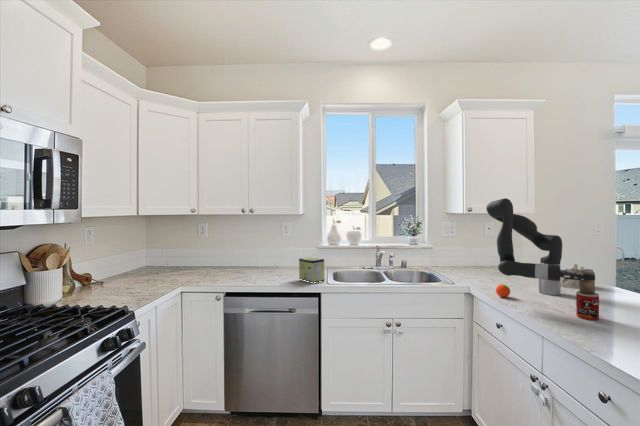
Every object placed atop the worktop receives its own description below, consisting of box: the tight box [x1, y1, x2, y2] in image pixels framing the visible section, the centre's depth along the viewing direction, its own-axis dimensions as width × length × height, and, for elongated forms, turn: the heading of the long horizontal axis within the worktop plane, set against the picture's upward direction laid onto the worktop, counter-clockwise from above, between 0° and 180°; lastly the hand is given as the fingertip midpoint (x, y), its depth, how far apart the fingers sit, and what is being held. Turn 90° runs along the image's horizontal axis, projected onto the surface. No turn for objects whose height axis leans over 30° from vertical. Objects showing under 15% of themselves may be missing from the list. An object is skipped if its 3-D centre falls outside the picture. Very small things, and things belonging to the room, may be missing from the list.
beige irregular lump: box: [561, 263, 585, 290], centre depth 198 cm, size 16×16×15 cm
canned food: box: [575, 290, 600, 321], centre depth 140 cm, size 8×8×11 cm
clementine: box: [495, 283, 511, 298], centre depth 173 cm, size 8×7×7 cm
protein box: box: [298, 256, 326, 283], centre depth 219 cm, size 10×16×16 cm
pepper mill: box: [578, 268, 596, 294], centre depth 140 cm, size 5×5×10 cm
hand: (594, 276), depth 138 cm, fingers open, 5 cm apart
